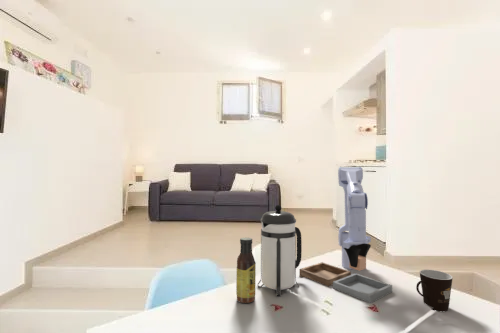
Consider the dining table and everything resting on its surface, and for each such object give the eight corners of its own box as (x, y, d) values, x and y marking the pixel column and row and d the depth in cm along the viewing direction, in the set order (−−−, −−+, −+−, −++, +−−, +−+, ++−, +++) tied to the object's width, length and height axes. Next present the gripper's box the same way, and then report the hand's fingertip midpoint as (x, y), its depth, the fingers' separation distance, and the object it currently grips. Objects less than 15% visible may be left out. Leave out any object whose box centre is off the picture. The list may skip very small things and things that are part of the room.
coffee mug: (442, 300, 91) (442, 270, 91) (459, 314, 83) (459, 280, 83) (405, 299, 92) (404, 268, 92) (418, 312, 84) (417, 278, 84)
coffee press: (302, 299, 92) (302, 208, 93) (254, 295, 95) (255, 206, 95) (301, 278, 109) (301, 202, 110) (260, 276, 112) (261, 201, 112)
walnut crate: (322, 269, 120) (322, 262, 120) (351, 279, 109) (350, 271, 109) (299, 276, 112) (299, 269, 112) (328, 288, 101) (328, 280, 101)
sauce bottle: (253, 305, 88) (253, 241, 88) (234, 303, 89) (234, 240, 89) (257, 296, 94) (257, 237, 94) (239, 294, 95) (239, 236, 96)
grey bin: (355, 281, 107) (355, 273, 107) (392, 294, 96) (392, 285, 96) (332, 290, 99) (332, 281, 99) (370, 305, 88) (370, 296, 88)
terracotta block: (355, 265, 102) (355, 254, 102) (366, 268, 99) (366, 257, 99) (349, 267, 99) (349, 256, 99) (359, 270, 96) (359, 259, 96)
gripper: (355, 231, 92) (355, 273, 92) (378, 226, 101) (378, 264, 100) (337, 227, 97) (337, 267, 97) (360, 223, 106) (360, 259, 106)
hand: (357, 265), depth 99 cm, fingers closed on terracotta block, 4 cm apart
